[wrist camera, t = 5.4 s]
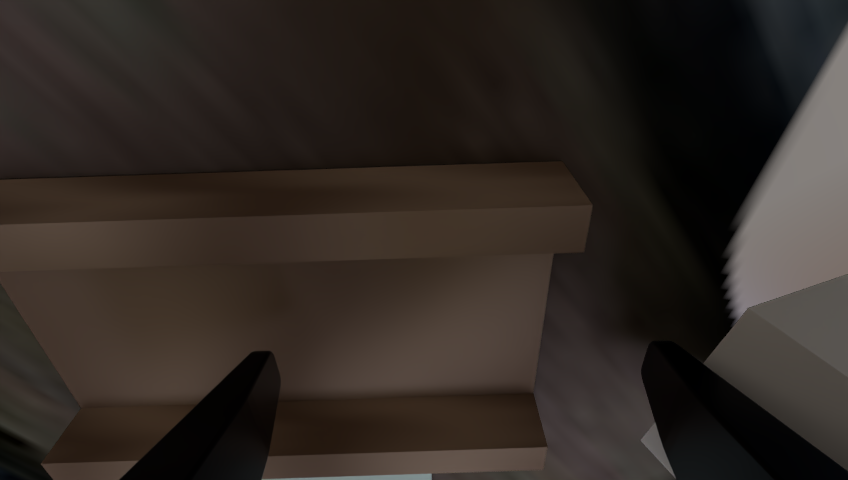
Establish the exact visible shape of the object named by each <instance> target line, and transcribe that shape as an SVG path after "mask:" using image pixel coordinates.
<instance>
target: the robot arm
mask: <svg viewBox="0 0 848 480" xmlns="http://www.w3.org/2000/svg"><path fill="white" fill-rule="evenodd" d="M641 375H642V380H643V383H644V387H645V390H646V393H647V397H648V400H649V403H650V407H651V410H652V413H653V417H654V420H655V423H656V426H657V430H658V433H659V436H660V439H661V442H662V445H663V448H664V451H665V453H666V456H667V458H668V461H669V463H670V466H671V468H672V470H673V473H674V475H675V477H676V480H848V471H847V470H846V469H845V468H843V467H842V466H840V465H839V464H838V463H836V462H835V461H834V460H832V459H831V458H830V457H828V456H827V455H826V454H824V453H823V452H822V451H820V450H819V449H818V448H816V447H815V446H813V445H812V444H811V443H809V442H808V441H807V440H805V439H804V438H803V437H801V436H800V435H799V434H797V433H796V432H795V431H793V430H792V429H791V428H789V427H788V426H787V425H785V424H784V423H782V422H781V421H780V420H778V419H777V418H776V417H774V416H773V415H772V414H770V413H769V412H768V411H766V410H765V409H764V408H762V407H761V406H760V405H758V404H757V403H755V402H754V401H753V400H751V399H750V398H749V397H747V396H746V395H745V394H743V393H742V392H741V391H739V390H738V389H737V388H735V387H734V386H733V385H731V384H730V383H728V382H727V381H726V380H724V379H723V378H722V377H720V376H719V375H718V374H716V373H715V372H714V371H712V370H711V369H710V368H708V367H707V366H706V365H704V364H703V363H701V362H700V361H699V360H697V359H696V358H695V357H693V356H692V355H691V354H689V353H688V352H687V351H685V350H684V349H683V348H681V347H680V346H679V345H677V344H676V343H674V342H672V341H652V342H651V343H650V344H649V346H648V349H647V352H646V355H645V358H644V361H643V364H642V368H641ZM280 388H281V377H280V373H279V370H278V366H277V363H276V360H275V356H274V354H273V352H271V351H253V352H251V353H250V354H249V355H248V356H247V357H245V358H244V359H243V360H242V361H241V362H240V363H239V364H238V365H237V366H236V367H235V368H234V369H233V370H232V371H231V372H230V373H229V374H228V375H227V376H226V377H225V378H224V379H223V380H222V381H221V382H220V383H219V384H218V385H216V386H215V387H214V388H213V389H212V390H211V391H210V392H209V393H208V394H207V395H206V396H205V397H204V398H203V399H202V400H201V401H200V402H199V403H198V404H197V405H196V406H195V407H194V408H193V409H192V410H191V411H190V412H189V413H187V414H186V415H185V416H184V417H183V418H182V419H181V420H180V421H179V422H178V423H177V424H176V425H175V426H174V427H173V428H172V429H171V430H170V431H169V432H168V433H167V434H166V435H165V436H164V437H163V438H162V439H161V440H160V441H158V442H157V443H156V444H155V445H154V446H153V447H152V448H151V449H150V450H149V451H148V452H147V453H146V454H145V455H144V456H143V457H142V458H141V459H140V460H139V461H138V462H137V463H136V464H135V465H134V466H133V467H132V468H131V469H129V470H128V471H127V472H126V473H125V474H124V475H123V476H122V477H121V478H120V479H119V480H262V477H263V473H264V470H265V466H266V462H267V459H268V455H269V450H270V445H271V439H272V433H273V428H274V422H275V416H276V410H277V405H278V399H279V393H280Z"/></svg>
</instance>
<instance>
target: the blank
mask: <svg viewBox="0 0 848 480" xmlns="http://www.w3.org/2000/svg"><path fill="white" fill-rule="evenodd" d="M703 364H704V365H706V366H707V367H708V368H710V369H711V370H712V371H714V372H715V373H716V374H718V375H719V376H720V377H722V378H723V379H724V380H726V381H727V382H728V383H730V384H731V385H733V386H734V387H735V388H737V389H738V390H739V391H741V392H742V393H743V394H745V395H746V396H747V397H749V398H750V399H751V400H753V401H754V402H755V403H757V404H758V405H760V406H761V407H762V408H764V409H765V410H766V411H768V412H769V413H770V414H772V415H773V416H774V417H776V418H777V419H778V420H780V421H781V422H782V423H784V424H785V425H787V426H788V427H789V428H791V429H792V430H793V431H795V432H796V433H797V434H799V435H800V436H801V437H803V438H804V439H805V440H807V441H808V442H809V443H811V444H812V445H813V446H815V447H816V448H818V449H819V450H820V451H822V452H823V453H824V454H826V455H827V456H828V457H830V458H831V459H832V460H834V461H835V462H836V463H838V464H839V465H840V466H842V467H843V468H845V469H846V470H847V471H848V274H847V275H844V276H841V277H838V278H835V279H832V280H829V281H826V282H823V283H820V284H818V285H814V286H812V287H809V288H806V289H803V290H800V291H797V292H794V293H791V294H788V295H785V296H782V297H779V298H776V299H773V300H770V301H767V302H764V303H761V304H758V305H756V306H753V307H750V308H748V309H747V310H746V311H745V313H744V314H743V315H742V316H741V318H740V319H739V320H738V321H737V322H736V324H735V325H734V326H733V327H732V329H731V330H730V331H729V332H728V334H727V335H726V336H725V337H724V338H723V340H722V341H721V342H720V343H719V345H718V346H717V347H716V348H715V349H714V351H713V352H712V353H711V354H710V356H709V357H708V358H707V359H706V361H705V362H704V363H703ZM640 441H641V442H642V443H643V444H644V445H645V446H646V447H647V448H648V449H649V450H650V451H651V452H652V453H653V455H654V456H655V457H656V458H657V459H658V460H659V461H660V462H661V463H662V464H663V465H664V466H665V467H666V469H667V470H668V471H669V472H670V473H671V474H672V475H673V476H674V477H675V475H674V473H673V470H672V468H671V466H670V463H669V461H668V458H667V456H666V453H665V451H664V448H663V445H662V442H661V439H660V436H659V433H658V430H657V426H656V423H654V424H653V426H652V427H651V428H650V429H649V430H648V432H647V433H646V434H645V435H644V437H643V438H642V439H641V440H640ZM675 478H676V477H675Z"/></svg>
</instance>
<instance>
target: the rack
mask: <svg viewBox="0 0 848 480" xmlns="http://www.w3.org/2000/svg"><path fill="white" fill-rule="evenodd" d="M592 207H593V205H592V203H591V202H590V200H589V199H588V197H587V196H586V195H585V193H584V192H583V190H582V189H581V187H580V186H579V184H578V183H577V182H576V180H575V179H574V177H573V176H572V174H571V173H570V172H569V170H568V169H567V167H566V166H565V164H564V163H563V161H550V162H520V163H489V164H459V165H429V166H399V167H369V168H339V169H309V170H278V171H248V172H218V173H188V174H158V175H128V176H97V177H67V178H37V179H7V180H0V283H1V285H2V286H3V288H4V290H5V291H6V293H7V294H8V296H9V297H10V299H11V300H12V302H13V303H14V305H15V307H16V308H17V310H18V311H19V313H20V314H21V316H22V317H23V319H24V321H25V322H26V324H27V325H28V327H29V328H30V330H31V331H32V333H33V334H34V336H35V338H36V339H37V341H38V342H39V344H40V345H41V347H42V348H43V350H44V351H45V353H46V355H47V356H48V358H49V359H50V361H51V362H52V364H53V365H54V367H55V369H56V370H57V372H58V373H59V375H60V376H61V378H62V379H63V381H64V382H65V384H66V386H67V387H68V389H69V390H70V392H71V393H72V395H73V396H74V398H75V399H76V401H77V403H78V404H79V406H80V407H81V409H80V411H79V412H78V413H77V415H76V416H75V417H74V419H73V420H72V422H71V423H70V424H69V426H68V427H67V428H66V430H65V431H64V433H63V434H62V435H61V437H60V438H59V440H58V441H57V442H56V444H55V445H54V446H53V448H52V449H51V451H50V452H49V453H48V455H47V456H46V457H45V459H44V460H43V462H42V463H41V465H42V466H43V467H44V469H45V470H46V471H47V472H48V474H49V475H50V476H51V477H52V479H53V480H119V479H120V478H121V477H122V476H123V475H124V474H125V473H126V472H127V471H128V470H129V469H131V468H132V467H133V466H134V465H135V464H136V463H137V462H138V461H139V460H140V459H141V458H142V457H143V456H144V455H145V454H146V453H147V452H148V451H149V450H150V449H151V448H152V447H153V446H154V445H155V444H156V443H157V442H158V441H160V440H161V439H162V438H163V437H164V436H165V435H166V434H167V433H168V432H169V431H170V430H171V429H172V428H173V427H174V426H175V425H176V424H177V423H178V422H179V421H180V420H181V419H182V418H183V417H184V416H185V415H186V414H187V413H189V412H190V411H191V410H192V409H193V408H194V407H195V406H196V405H197V404H198V403H199V402H200V401H201V400H202V399H203V398H204V397H205V396H206V395H207V394H208V393H209V392H210V391H211V390H212V389H213V388H214V387H215V386H216V385H218V384H219V383H220V382H221V381H222V380H223V379H224V378H225V377H226V376H227V375H228V374H229V373H230V372H231V371H232V370H233V369H234V368H235V367H236V366H237V365H238V364H239V363H240V362H241V361H242V360H243V359H244V358H245V357H247V356H248V355H249V354H250V353H251V352H253V351H271V352H273V354H274V356H275V360H276V363H277V366H278V370H279V373H280V377H281V388H280V393H279V399H278V405H277V410H276V416H275V422H274V428H273V433H272V439H271V445H270V450H269V455H268V459H267V462H266V466H265V470H264V473H263V477H262V479H283V478H313V477H343V476H374V475H404V474H434V473H465V472H495V471H526V470H543V469H544V464H545V459H546V453H547V448H548V447H547V443H546V439H545V435H544V432H543V428H542V424H541V420H540V417H539V413H538V409H537V405H536V402H535V398H534V394H533V392H534V385H535V378H536V371H537V364H538V357H539V350H540V344H541V337H542V330H543V323H544V316H545V309H546V302H547V295H548V288H549V282H550V275H551V268H552V261H553V254H554V253H583V252H584V250H585V245H586V239H587V234H588V229H589V223H590V218H591V213H592Z"/></svg>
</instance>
